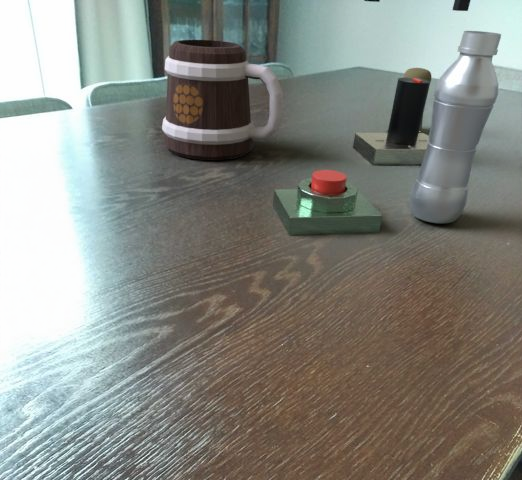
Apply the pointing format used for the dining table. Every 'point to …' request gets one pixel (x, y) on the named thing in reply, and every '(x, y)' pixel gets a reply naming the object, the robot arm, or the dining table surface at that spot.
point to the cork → (419, 74)
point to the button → (328, 182)
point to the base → (390, 149)
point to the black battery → (407, 110)
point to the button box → (325, 211)
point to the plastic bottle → (456, 129)
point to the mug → (214, 100)
